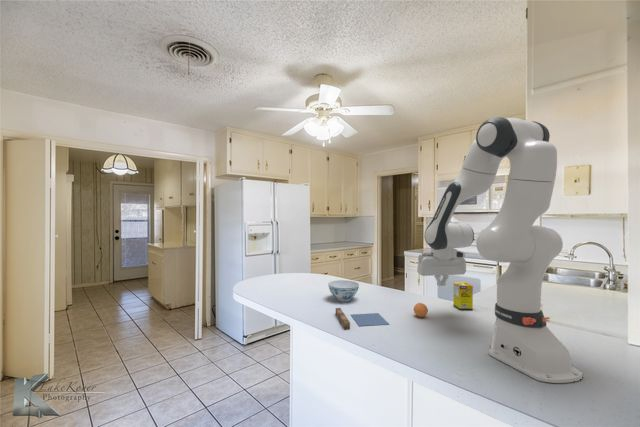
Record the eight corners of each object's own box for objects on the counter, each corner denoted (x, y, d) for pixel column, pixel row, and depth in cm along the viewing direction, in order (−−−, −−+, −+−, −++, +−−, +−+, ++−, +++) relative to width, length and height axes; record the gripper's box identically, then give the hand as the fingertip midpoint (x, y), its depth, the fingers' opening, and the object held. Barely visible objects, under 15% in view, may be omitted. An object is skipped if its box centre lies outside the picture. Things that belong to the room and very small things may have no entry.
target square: (389, 324, 110) (389, 324, 110) (358, 326, 108) (358, 325, 108) (378, 313, 122) (378, 313, 122) (350, 314, 120) (350, 314, 120)
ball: (430, 318, 116) (430, 305, 116) (417, 319, 115) (417, 305, 115) (423, 313, 121) (423, 300, 121) (411, 314, 121) (411, 301, 121)
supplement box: (473, 310, 126) (473, 285, 126) (459, 310, 126) (459, 285, 126) (466, 306, 132) (466, 282, 132) (453, 305, 132) (453, 282, 132)
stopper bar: (349, 329, 105) (349, 322, 105) (344, 329, 105) (344, 322, 105) (340, 313, 121) (340, 307, 121) (335, 314, 121) (335, 308, 121)
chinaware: (358, 295, 148) (358, 280, 148) (359, 305, 133) (359, 288, 133) (329, 294, 149) (329, 279, 149) (327, 303, 134) (327, 287, 134)
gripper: (422, 254, 115) (421, 288, 115) (468, 253, 118) (468, 286, 119) (414, 251, 121) (414, 284, 122) (459, 250, 124) (458, 282, 125)
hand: (441, 285), depth 120 cm, fingers closed
